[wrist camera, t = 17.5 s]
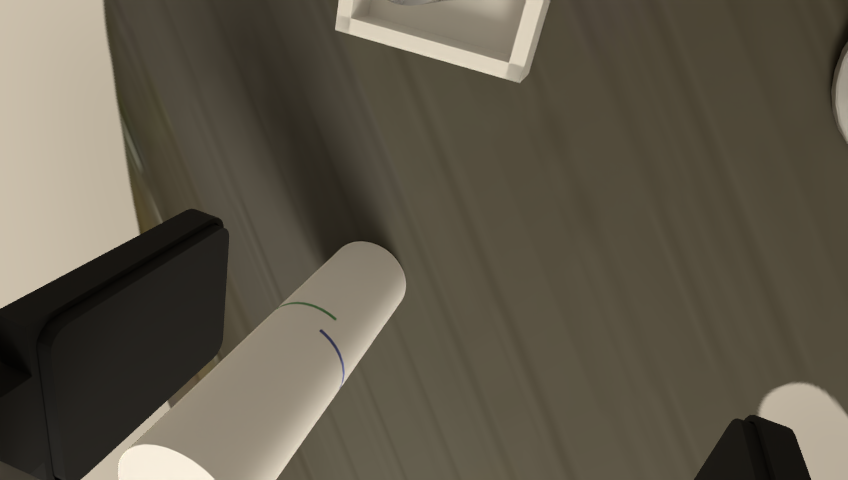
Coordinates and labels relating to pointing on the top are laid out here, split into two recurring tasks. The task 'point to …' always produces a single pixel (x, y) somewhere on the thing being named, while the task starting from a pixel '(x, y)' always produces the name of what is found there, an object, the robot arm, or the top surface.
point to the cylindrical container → (275, 377)
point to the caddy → (454, 31)
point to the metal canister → (415, 2)
